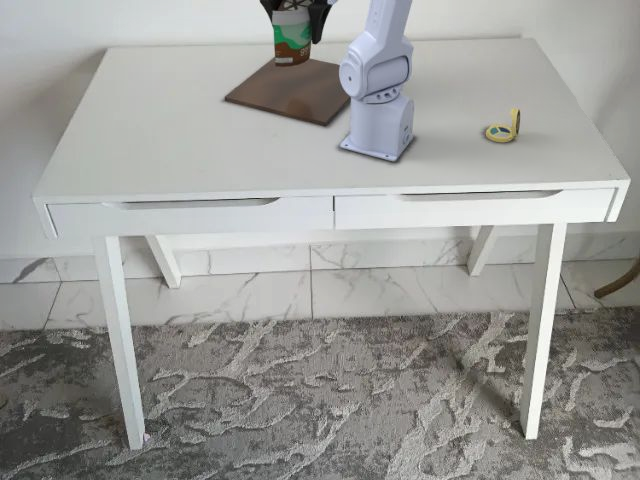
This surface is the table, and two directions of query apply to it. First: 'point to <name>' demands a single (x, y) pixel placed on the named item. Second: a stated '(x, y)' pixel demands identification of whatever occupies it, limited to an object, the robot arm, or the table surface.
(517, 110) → the eyeshadow
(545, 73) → the table surface
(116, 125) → the table surface
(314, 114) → the walnut board
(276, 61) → the food container
